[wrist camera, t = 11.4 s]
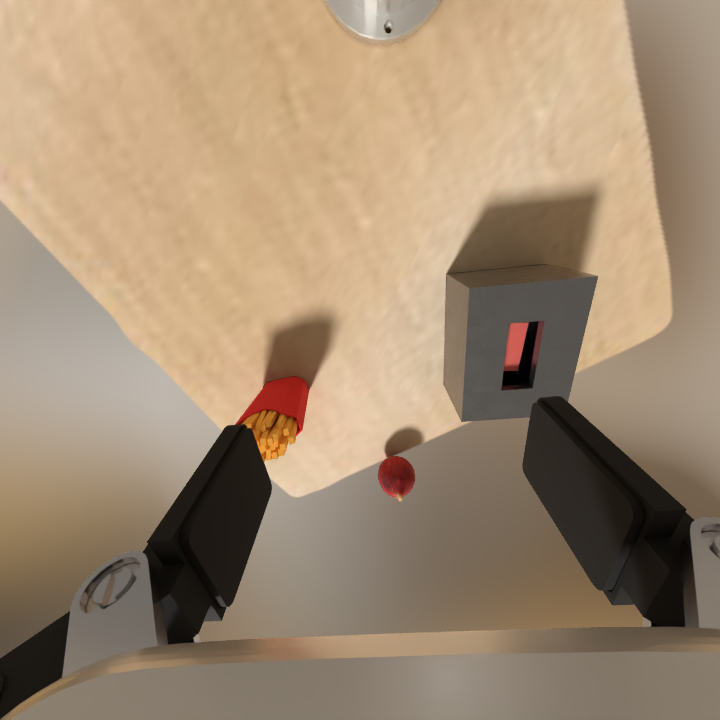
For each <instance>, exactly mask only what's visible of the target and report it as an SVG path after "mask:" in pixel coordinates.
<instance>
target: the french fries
mask: <svg viewBox="0 0 720 720" xmlns="http://www.w3.org/2000/svg"><path fill="white" fill-rule="evenodd" d="M308 393H309V390H308V388H307V385H306V383H305V380H303V379H301V378H298V377H296V376H292V377H287V378H282V379H278V380H274V381H271V382H267V384H266V385H265V386H264V388H263V389H262V390H261V391H260V393H259V394H258V395H257V397H256V398H255V399H254V401H253V402H252V403H251V405H250V406H249V407H248V409H247V410H246V411H245V412H244V414H243V415H242V416H241V418H240V419H239V420H238V422H237V423H236V424H235V425H239V424H245V425H246V426H247V428H251V429H252V431H253V433H254V436H255V439H256V442H257V444H258V447H259V450H260V453H261V456H262V458H263V461H265V459H266V460H271V459H278V456H283V455H284V454H285V451H286V448H287V444H288V441H289V444H293V443H295V439H296V436H297V435H298V434H299V433H300V432H301V431H302V429H303V423H304V417H305V411H306V405H307V399H308Z"/></svg>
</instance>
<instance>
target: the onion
mask: <svg viewBox="0 0 720 720" xmlns="http://www.w3.org/2000/svg"><path fill="white" fill-rule="evenodd" d="M378 480H379V482H380V485H381V487H382V488H383V490H384V491H385V492H386V493H387V494H388V495H390V496H392V497H396V498H397V499H398V501H402V498H403V496H405V495H407V494H408V493H409V492H410V491H411V489H412V488H413V485H414V482H415V474H414V469H413V467H412V465H411V464H410V463H409V462H408V461H407V460H406V459H404V458H402V457H398V456H392V457H389V458H387V459H385V460H384V461H383V462H382V464H381V465H380V467H379V472H378Z"/></svg>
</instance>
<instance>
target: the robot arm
mask: <svg viewBox="0 0 720 720" xmlns="http://www.w3.org/2000/svg"><path fill="white" fill-rule="evenodd" d="M440 2H441V0H324V3H325V4H326V6H327V8H328V9H329V11H330V13H331V14H332V16H333V17H334V19H335V20H336V21H337V22H338V23H339V24H340V26H341V27H342V28H343V29H344V30H346V31H347V32H348V33H350V34H351V35H352V36H353V37H355V38H357V39H359V40H362V41H364V42H366V43H371V44H376V45H384V44H393V43H396V42H399V41H401V40H404V39H406V38H407V37H409V36H411V35H412V34H414V33H415V32H417V31H418V30H419V29H420V28H421V27H422V26H423V25H424V24H425V23H426V22H427V21H428V20H429V19H430V17H431V16H432V15H433V13H434V12H435V11H436V9H437V8H438V6H439V4H440ZM387 29H389V30H390V31H391V33H389V34H388V33H386V32H385V31H386V30H387ZM523 471H524V474H525V476H526V478H527V479H528V481H529V482H530V484H531V486H532V487H533V489H534V491H535V492H536V494H537V495H538V497H539V499H540V500H541V502H542V503H543V505H544V507H545V508H546V510H547V511H548V513H549V515H550V516H551V518H552V519H553V521H554V523H555V524H556V526H557V527H558V529H559V531H560V532H561V534H562V536H563V537H564V539H565V540H566V542H567V544H568V545H569V546H570V548H571V550H572V551H573V553H574V555H575V556H576V558H577V560H578V561H579V563H580V564H581V566H582V568H583V569H584V571H585V572H586V574H587V576H588V577H589V579H590V580H591V582H592V583H593V585H594V586H595V587H596V588H597V589H598V590H602V591H603V592H604V593H605V595H606V596H607V598H608V599H609V601H610V603H611V604H612V605H631V604H635V606H636V607H637V608H638V610H639V611H640V613H641V614H642V615H643V617H644V627H596V628H595V627H594V628H593V627H592V628H561V629H559V628H558V629H525V630H524V629H523V630H492V631H491V630H489V631H459V632H458V631H457V632H430V633H429V632H428V633H400V634H372V635H345V636H344V635H343V636H321V637H320V636H319V637H297V638H296V637H294V638H269V639H246V640H228V641H212V642H200V640H199V635H198V633H199V631H200V629H201V626H202V624H203V621H222V618H223V616H224V613H225V610H226V607H229V606H230V605H231V604H232V603H233V601H234V598H235V595H236V593H237V590H238V587H239V584H240V581H241V578H242V575H243V573H244V570H245V567H246V564H247V561H248V558H249V555H250V552H251V550H252V547H253V544H254V541H255V538H256V535H257V532H258V530H259V527H260V524H261V521H262V518H263V515H264V512H265V509H266V506H267V504H268V501H269V498H270V495H271V490H272V485H271V481H270V478H269V475H268V472H267V470H266V467H265V464H264V461H263V458H262V456H261V453H260V450H259V447H258V444H257V442H256V439H255V436H254V433H253V431H252V429H251V428H247V426H246V425H245V424H239V425H228V426H226V427H225V428H224V430H223V431H222V433H221V434H220V436H219V437H218V439H217V440H216V442H215V443H214V445H213V446H212V448H211V449H210V450H209V452H208V453H207V455H206V456H205V458H204V459H203V461H202V462H201V464H200V465H199V467H198V468H197V469H196V471H195V472H194V474H193V475H192V477H191V478H190V480H189V481H188V483H187V484H186V486H185V487H184V489H183V490H182V491H181V493H180V494H179V496H178V497H177V499H176V500H175V502H174V503H173V505H172V506H171V508H170V509H169V511H168V512H167V514H166V515H165V516H164V518H163V519H162V521H161V522H160V524H159V525H158V527H157V528H156V530H155V531H154V533H153V534H152V536H151V537H150V538H149V540H148V541H147V543H148V545H147V547H146V548H145V550H144V551H143V553H142V552H140V551H130V552H126V553H123V554H121V555H118V556H116V557H114V558H112V559H111V560H109V561H108V562H106V563H105V564H103V565H102V566H101V567H99V568H98V569H97V570H96V571H95V572H94V573H93V574H92V575H90V576H89V578H88V579H87V580H86V581H85V582H84V584H83V585H82V586H81V587H80V589H79V590H78V592H77V594H76V595H75V597H74V599H73V603H72V606H71V609H70V612H68V613H67V614H65V615H64V616H62V617H61V618H59V619H58V620H56V621H55V622H53V623H52V624H50V625H49V626H47V627H46V628H44V629H43V630H42V631H40V632H39V633H37V634H36V635H34V636H33V637H31V638H30V639H29V640H27V641H26V642H24V643H23V644H21V645H20V646H18V647H17V648H15V649H14V650H12V651H11V652H9V653H8V654H6V655H5V656H3V657H2V658H0V720H720V518H712V517H705V518H698V519H696V520H694V519H692V518H691V517H690V516H689V515H688V514H687V513H686V512H685V511H686V508H684V507H683V506H682V505H681V504H680V503H679V502H678V501H677V500H675V498H673V497H672V496H671V495H670V494H669V493H668V492H667V491H666V490H664V489H663V488H662V487H661V486H660V485H659V484H658V483H657V482H656V481H655V480H653V479H652V478H651V477H650V476H649V475H648V474H647V473H646V472H644V470H642V469H641V468H640V467H639V466H638V465H637V464H636V463H635V462H633V461H632V460H631V459H630V458H629V457H628V456H627V455H626V454H625V453H624V452H622V451H621V450H620V449H619V448H618V447H617V446H615V444H614V443H612V442H611V441H610V440H609V439H608V438H607V437H606V436H605V435H604V434H603V433H601V432H600V431H599V430H598V429H597V428H596V427H595V426H594V425H593V424H591V423H590V422H589V421H588V420H587V419H586V418H585V417H584V416H583V415H581V414H580V413H579V412H578V411H577V410H576V409H575V408H574V407H573V406H572V405H570V404H569V403H568V402H567V401H566V400H565V399H564V398H562V397H561V396H552V397H541V398H539V399H538V400H537V402H536V403H533V405H532V408H531V415H530V421H529V427H528V434H527V440H526V446H525V453H524V458H523Z"/></svg>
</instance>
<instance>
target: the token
mask: <svg viewBox="0 0 720 720" xmlns="http://www.w3.org/2000/svg"><path fill="white" fill-rule="evenodd" d="M528 323H529V322H523V323H511V324H509V331H508V339H507V347H506V355H505V363H504V371H518V368H519V363H520V359H521V354H522V350H523V345H524V341H525V337H526V332H527V328H528Z"/></svg>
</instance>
